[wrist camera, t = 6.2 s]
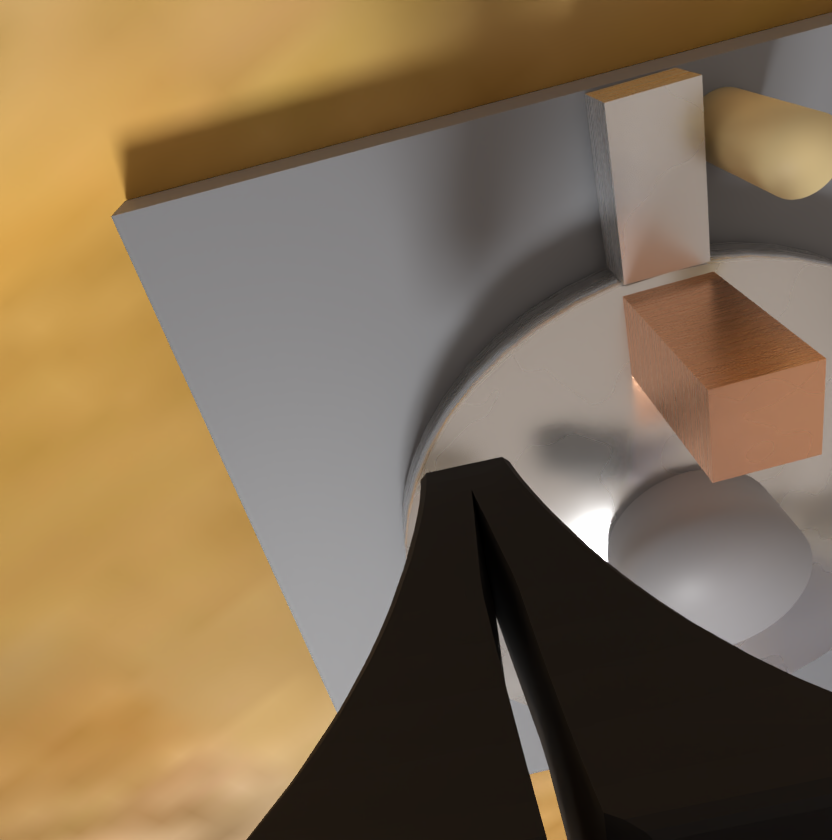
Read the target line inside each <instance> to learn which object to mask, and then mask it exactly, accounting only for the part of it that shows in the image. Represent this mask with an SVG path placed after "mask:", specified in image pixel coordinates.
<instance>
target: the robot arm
mask: <svg viewBox="0 0 832 840" xmlns="http://www.w3.org/2000/svg"><path fill="white" fill-rule="evenodd" d="M420 483H421V490H420V501H419V508H418V514H417V518H416V523H415V528H414V532H413V536H412V540H411V544H410V547H409V551H408V555H407V559H406V562H405V565H404V569H403V572H402V575H401V577H400V580H399V583H398V586H397V589H396V592H395V594H394V597H393V600H392V603H391V606H390V608H389V611H388V613H387V616H386V618H385V621H384V623H383V625H382V628H381V630H380V632H379V635H378V637H377V639H376V641H375V643H374V645H373V647H372V650H371V652H370V654H369V656H368V658H367V660H366V662H365V664H364V666H363V668H362V670H361V671H360V673H359V675H358V677H357V679H356V681H355V683H354V685H353V686H352V688H351V690H350V692H349V694H348V696H347V697H346V699H345V701H344V703H343V704H342V706H341V708H340V710H339V711H338V713H337V715H336V716H335V718H334V719H333V721H332V723H331V724H330V726H329V727H328V729H327V730H326V732H325V733H324V735H323V736H322V738H321V739H320V741H319V742H318V744H317V745H316V747H315V748H314V750H313V751H312V753H311V754H310V756H309V757H308V759H307V760H306V762H305V763H304V765H303V766H302V768H301V769H300V771H299V772H298V774H297V775H296V776H295V778H294V779H293V781H292V782H291V783H290V785H289V786H288V787H287V789H286V790H285V791H284V793H283V794H282V795H281V796H280V798H279V799H278V800H277V801H276V803H275V804H274V805H273V807H272V808H271V809H270V810H269V812H268V813H267V814H266V816H265V817H264V818H263V819H262V821H261V822H260V823H259V824H258V826H257V827H256V828H255V830H254V831H253V832H252V833H251V835H250V836H249V837H248V838H247V840H547V838H546V834H545V830H544V827H543V823H542V819H541V816H540V812H539V808H538V805H537V801H536V797H535V794H534V790H533V786H532V782H531V779H530V775H529V771H528V768H527V764H526V760H525V756H524V753H523V749H522V745H521V741H520V738H519V734H518V730H517V726H516V722H515V719H514V715H513V711H512V707H511V703H510V699H509V696H508V692H507V688H506V684H505V677H504V669H503V662H502V655H501V648H500V641H499V633H498V626H497V621H498V624H499V627H500V629H501V632H502V635H503V638H504V641H505V643H506V646H507V649H508V652H509V655H510V658H511V660H512V663H513V666H514V669H515V671H516V674H517V677H518V680H519V683H520V685H521V688H522V691H523V694H524V697H525V699H526V702H527V705H528V708H529V711H530V713H531V716H532V719H533V722H534V725H535V727H536V730H537V733H538V736H539V738H540V741H541V745H542V748H543V751H544V754H545V757H546V761H547V764H548V767H549V770H550V774H551V778H552V782H553V786H554V790H555V794H556V797H557V801H558V805H559V809H560V813H561V817H562V821H563V824H564V828H565V832H566V836H567V840H832V692H831V691H829V690H826V689H824V688H821V687H819V686H817V685H814V684H812V683H809V682H807V681H804V680H802V679H800V678H798V677H795V676H793V675H791V674H789V673H787V672H785V671H783V670H781V669H779V668H777V667H775V666H773V665H770V664H768V663H766V662H764V661H762V660H760V659H758V658H756V657H754V656H752V655H750V654H748V653H746V652H745V651H743V650H741V649H739V648H738V647H736V646H734V645H732V644H730V643H729V642H727V641H725V640H723V639H721V638H720V637H718V636H716V635H714V634H713V633H711V632H709V631H707V630H705V629H704V628H702V627H700V626H698V625H697V624H695V623H693V622H692V621H690V620H688V619H687V618H685V617H684V616H682V615H681V614H679V613H678V612H676V611H674V610H673V609H671V608H670V607H668V606H667V605H665V604H664V603H662V602H661V601H659V600H658V599H656V598H655V597H653V596H652V595H651V594H649V593H648V592H646V591H645V590H644V589H642V588H641V587H639V586H638V585H636V584H635V583H634V582H632V581H631V580H630V579H628V578H627V577H626V576H625V575H623V574H622V573H621V572H619V571H618V570H617V569H616V568H614V567H613V566H612V565H611V564H609V563H608V562H607V561H606V560H605V559H603V558H602V557H601V556H600V555H599V554H597V553H596V552H595V551H594V550H593V549H591V548H590V547H589V546H588V545H587V544H586V543H585V542H584V541H583V540H581V539H580V538H579V537H578V536H577V535H576V534H575V533H574V532H573V531H572V530H571V529H570V528H569V527H568V526H567V525H565V524H564V523H563V522H562V521H561V520H560V519H559V518H558V517H557V516H556V515H555V514H554V513H553V512H552V511H551V510H550V509H549V508H548V507H547V506H546V505H545V504H544V503H543V502H542V500H541V499H540V498H539V497H538V496H537V495H536V494H535V493H534V492H533V491H532V489H531V488H530V487H529V486H528V485H527V484H526V482H525V481H524V480H523V479H522V478H521V476H520V475H519V474H518V472H517V471H516V470H515V468H514V467H513V466H512V464H511V463H510V461H508V460H507V459H505V458H503V457H498V458H494V459H489V460H484V461H480V462H475V463H470V464H466V465H461V466H456V467H452V468H447V469H442V470H438V471H433V472H428V473H426V474H425V475H424V476H423V478H422V479H421V480H420ZM496 618H497V619H496Z"/></svg>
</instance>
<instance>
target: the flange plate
mask: <svg viewBox="0 0 832 840" xmlns="http://www.w3.org/2000/svg"><path fill="white" fill-rule="evenodd" d="M585 100H586V108H587V116H588V124H589V132H590V140H591V148H592V157H593V165H594V173H595V181H596V189H597V197H598V205H599V214H600V222H601V230H602V238H603V246H604V254H605V263H606V266H607V267H608V268H605V269H603V270H600V271H598V272H596V273H594V274H592V275H590V276H588V277H586V278H584V279H582V280H580V281H577V282H575V283H573V284H571V285H569V286H567V287H565V288H563V289H562V290H560V291H558V292H557V293H555V294H554V295H552V296H550V297H549V298H547V299H546V300H544V301H542V302H541V303H539V304H538V305H536V306H534V307H533V308H531V309H530V310H528V311H527V312H525V313H524V314H523V315H522V316H520V317H519V318H518V319H517V320H515V321H514V322H513V323H512V324H510V325H509V326H508V327H507V328H505V329H504V330H503V331H502V332H500V333H499V334H498V335H497V336H495V337H494V338H493V339H492V340H491V341H490V342H489V343H488V344H487V345H486V346H485V347H484V348H483V350H482V351H481V352H480V353H479V354H478V355H477V356H476V357H475V358H474V359H473V360H472V361H471V362H470V363H469V364H468V365H467V366H466V367H465V368H464V370H463V371H462V372H461V374H460V375H459V376H458V377H457V379H456V380H455V381H454V383H453V384H452V385H451V386H450V388H449V389H448V390H447V392H446V393H445V394H444V396H443V397H442V399H441V401H440V402H439V404H438V406H437V407H436V409H435V411H434V413H433V414H432V416H431V418H430V419H429V421H428V423H427V425H426V426H425V428H424V431H423V433H422V436H421V438H420V441H419V443H418V445H417V448H416V450H415V453H414V455H413V458H412V461H411V465H410V469H409V473H408V477H407V481H406V486H405V490H404V502H403V514H402V524H403V536H404V548H405V555H406V559H407V555H408V551H409V547H410V544H411V540H412V536H413V532H414V528H415V523H416V518H417V514H418V508H419V501H420V490H421V483H420V480H421V479H422V478H423V476H424V475H425V474H426V473H428V472H433V471H438V470H442V469H447V468H452V467H456V466H461V465H466V464H470V463H475V462H480V461H484V460H489V459H494V458H498V457H503V458H505V459H507V460H508V461H510V463H511V464H512V466H513V467H514V468H515V470H516V471H517V472H518V474H519V475H520V476H521V478H522V479H523V480H524V481H525V482H526V484H527V485H528V486H529V487H530V488H531V489H532V491H533V492H534V493H535V494H536V495H537V496H538V497H539V498H540V499H541V500H542V502H543V503H544V504H545V505H546V506H547V507H548V508H549V509H550V510H551V511H552V512H553V513H554V514H555V515H556V516H557V517H558V518H559V519H560V520H561V521H562V522H563V523H564V524H565V525H567V526H568V527H569V528H570V529H571V530H572V531H573V532H574V533H575V534H576V535H577V536H578V537H579V538H580V539H581V540H583V541H584V542H585V543H586V544H587V545H588V546H589V547H590V548H591V549H593V550H594V551H595V552H596V553H597V554H599V555H600V556H601V557H602V558H603V559H605V560H606V561H607V562H608V560H607V549H608V542H609V538H610V535H611V532H612V530H613V528H614V526H615V524H616V522H617V521H618V519H619V517H620V516H621V515H622V513H623V512H624V511H625V510H626V508H627V507H628V506H629V505H630V504H631V503H632V502H633V501H634V500H635V499H636V498H638V497H639V496H640V495H641V494H643V493H644V492H645V491H647V490H648V489H650V488H651V487H653V486H654V485H656V484H658V483H660V482H662V481H664V480H666V479H669V478H671V477H673V476H676V475H679V474H682V473H686V472H690V471H695V470H700V469H703V471H704V472H705V473H706V475H707V476H708V477H709V479H710V480H711V481H712V483H715V482H718V481H722V480H726V479H730V478H734V477H737V476H741V475H748V476H750V477H752V478H753V479H755V480H756V481H758V482H759V483H760V484H761V485H762V486H763V487H764V488H765V489H766V490H767V491H768V492H769V494H770V495H771V496H772V497H773V498H774V499H775V501H776V502H777V503H778V504H779V505H780V507H781V508H782V509H783V510H784V511H785V512H786V514H787V515H788V516H789V517H790V518H791V520H792V521H793V522H794V523H795V524H796V525H797V527H798V528H799V529H800V530H801V531H802V533H803V534H804V535H805V537H806V538H807V540H808V542H809V545H810V547H811V552H812V570H811V575H810V578H809V581H808V583H807V585H806V587H805V589H804V591H803V593H802V594H801V596H800V597H799V599H798V600H797V602H796V603H795V604H794V605H793V606H792V608H791V609H790V610H789V611H788V612H787V613H786V614H785V615H784V616H782V617H781V618H780V619H779V620H778V621H776V622H775V623H774V624H772V625H771V626H769V627H768V628H767V629H765V630H763V631H762V632H760V633H758V634H756V635H755V636H752V637H750V638H748V639H746V640H744V641H741V642H738V643H736V644H733V645H734V646H736V647H738V648H739V649H741V650H743V651H745V652H746V653H748V654H750V655H752V656H754V657H756V658H758V659H760V660H762V661H764V662H766V663H768V664H770V665H773V666H775V667H777V668H779V669H781V670H783V671H785V672H787V673H789V674H791V673H793V672H794V671H796V670H798V669H800V668H801V667H803V666H805V665H807V664H809V663H810V662H812V661H814V660H816V659H817V658H819V657H820V656H822V655H823V654H825V653H826V652H828V651H829V650H831V649H832V260H830V259H828V258H825V257H822V256H820V255H817V254H814V253H811V252H809V251H804V250H799V249H794V248H789V247H784V246H779V245H774V244H764V243H744V242H722V243H709V220H708V197H707V174H706V152H705V129H704V106H703V84H702V75H701V74H697V73H693V72H690V71H686V70H682V69H679V68H673V69H669V70H666V71H662V72H659V73H655V74H652V75H648V76H645V77H642V78H638V79H635V80H631V81H628V82H624V83H621V84H617V85H614V86H610V87H607V88H603V89H600V90H596V91H593V92H589V93H586V94H585ZM496 619H497V618H496ZM497 626H498V633H499V641H500V648H501V655H502V662H503V669H504V677H505V684H506V688H507V692H508V696H509V699H512V700H514V701H517V702H520V703H522V704H525V705H527V702H526V699H525V697H524V694H523V691H522V688H521V685H520V683H519V680H518V677H517V674H516V671H515V669H514V666H513V663H512V660H511V658H510V655H509V652H508V649H507V646H506V643H505V641H504V638H503V635H502V632H501V629H500V627H499V624H498V621H497ZM527 706H528V705H527Z"/></svg>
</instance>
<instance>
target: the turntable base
mask: <svg viewBox="0 0 832 840" xmlns="http://www.w3.org/2000/svg"><path fill="white" fill-rule="evenodd" d="M673 68H679V69H682V70H686V71H690V72H693V73H697V74H701V75H702V84H703V106H704V129H705V152H706V174H707V197H708V220H709V243H722V242H744V243H764V244H774V245H779V246H784V247H789V248H794V249H799V250H804V251H809V252H811V253H814V254H817V255H820V256H822V257H825V258H828V259H830V260H832V12H830V13H827V14H823V15H819V16H815V17H812V18H808V19H804V20H800V21H797V22H793V23H789V24H785V25H782V26H778V27H774V28H770V29H767V30H763V31H759V32H756V33H752V34H748V35H744V36H741V37H737V38H733V39H729V40H726V41H722V42H718V43H714V44H711V45H707V46H703V47H699V48H696V49H692V50H688V51H684V52H681V53H677V54H673V55H669V56H666V57H662V58H658V59H655V60H651V61H647V62H643V63H640V64H636V65H632V66H628V67H625V68H621V69H617V70H613V71H610V72H606V73H602V74H598V75H595V76H591V77H587V78H583V79H580V80H576V81H572V82H568V83H565V84H561V85H557V86H554V87H550V88H546V89H542V90H539V91H535V92H531V93H527V94H524V95H520V96H516V97H512V98H509V99H505V100H501V101H497V102H494V103H490V104H486V105H482V106H479V107H475V108H471V109H467V110H464V111H460V112H456V113H453V114H449V115H445V116H441V117H438V118H434V119H430V120H426V121H423V122H419V123H415V124H411V125H408V126H404V127H400V128H396V129H393V130H389V131H385V132H381V133H378V134H374V135H370V136H366V137H363V138H359V139H355V140H352V141H348V142H344V143H340V144H337V145H333V146H329V147H325V148H322V149H318V150H314V151H310V152H307V153H303V154H299V155H295V156H292V157H288V158H284V159H280V160H277V161H273V162H269V163H265V164H262V165H258V166H254V167H250V168H247V169H243V170H239V171H236V172H232V173H228V174H224V175H221V176H217V177H213V178H209V179H206V180H202V181H198V182H194V183H191V184H187V185H183V186H179V187H176V188H172V189H168V190H164V191H161V192H157V193H153V194H149V195H146V196H142V197H138V198H135V199H131V200H127V201H125V202H124V203H123V204H122V205H121V206H120V207H119V208H118V210H117V211H116V212H115V213H114V214H113V215H112V216H111V217H112V219H113V221H114V224H115V226H116V228H117V230H118V232H119V235H120V237H121V239H122V241H123V243H124V246H125V248H126V250H127V252H128V254H129V256H130V259H131V261H132V263H133V265H134V267H135V270H136V272H137V274H138V276H139V278H140V281H141V283H142V285H143V287H144V289H145V292H146V294H147V296H148V298H149V300H150V303H151V305H152V307H153V309H154V311H155V314H156V316H157V318H158V320H159V322H160V325H161V327H162V329H163V331H164V333H165V336H166V338H167V340H168V342H169V344H170V347H171V349H172V351H173V353H174V355H175V358H176V360H177V362H178V364H179V366H180V369H181V371H182V373H183V375H184V377H185V380H186V382H187V384H188V386H189V388H190V391H191V393H192V395H193V397H194V399H195V402H196V404H197V406H198V408H199V410H200V412H201V415H202V417H203V419H204V421H205V423H206V426H207V428H208V430H209V432H210V434H211V437H212V439H213V441H214V443H215V445H216V448H217V450H218V452H219V454H220V456H221V459H222V461H223V463H224V465H225V467H226V470H227V472H228V474H229V476H230V478H231V481H232V483H233V485H234V487H235V489H236V492H237V494H238V496H239V498H240V500H241V503H242V505H243V507H244V509H245V511H246V514H247V516H248V518H249V520H250V522H251V525H252V527H253V529H254V531H255V533H256V536H257V538H258V540H259V542H260V544H261V547H262V549H263V551H264V553H265V555H266V557H267V560H268V562H269V564H270V566H271V568H272V571H273V573H274V575H275V577H276V579H277V582H278V584H279V586H280V588H281V590H282V593H283V595H284V597H285V599H286V601H287V604H288V606H289V608H290V610H291V612H292V615H293V617H294V619H295V621H296V623H297V626H298V628H299V630H300V632H301V634H302V637H303V639H304V641H305V643H306V645H307V648H308V650H309V652H310V654H311V656H312V659H313V661H314V663H315V665H316V667H317V670H318V672H319V674H320V676H321V678H322V681H323V683H324V685H325V687H326V689H327V692H328V694H329V696H330V698H331V700H332V703H333V705H334V707H335V709H336V711H337V713H338V711H339V710H340V708H341V706H342V704H343V703H344V701H345V699H346V697H347V696H348V694H349V692H350V690H351V688H352V686H353V685H354V683H355V681H356V679H357V677H358V675H359V673H360V671H361V670H362V668H363V666H364V664H365V662H366V660H367V658H368V656H369V654H370V652H371V650H372V647H373V645H374V643H375V641H376V639H377V637H378V635H379V632H380V630H381V628H382V625H383V623H384V621H385V618H386V616H387V613H388V611H389V608H390V606H391V603H392V600H393V597H394V594H395V592H396V589H397V586H398V583H399V580H400V577H401V575H402V572H403V569H404V565H405V562H406V555H405V548H404V536H403V524H402V514H403V502H404V490H405V486H406V481H407V477H408V473H409V469H410V465H411V461H412V458H413V455H414V453H415V450H416V448H417V445H418V443H419V441H420V438H421V436H422V433H423V431H424V428H425V426H426V425H427V423H428V421H429V419H430V418H431V416H432V414H433V413H434V411H435V409H436V407H437V406H438V404H439V402H440V401H441V399H442V397H443V396H444V394H445V393H446V392H447V390H448V389H449V388H450V386H451V385H452V384H453V383H454V381H455V380H456V379H457V377H458V376H459V375H460V374H461V372H462V371H463V370H464V368H465V367H466V366H467V365H468V364H469V363H470V362H471V361H472V360H473V359H474V358H475V357H476V356H477V355H478V354H479V353H480V352H481V351H482V350H483V348H484V347H485V346H486V345H487V344H488V343H489V342H490V341H491V340H492V339H493V338H494V337H495V336H497V335H498V334H499V333H500V332H502V331H503V330H504V329H505V328H507V327H508V326H509V325H510V324H512V323H513V322H514V321H515V320H517V319H518V318H519V317H520V316H522V315H523V314H524V313H525V312H527V311H528V310H530V309H531V308H533V307H534V306H536V305H538V304H539V303H541V302H542V301H544V300H546V299H547V298H549V297H550V296H552V295H554V294H555V293H557V292H558V291H560V290H562V289H563V288H565V287H567V286H569V285H571V284H573V283H575V282H577V281H580V280H582V279H584V278H586V277H588V276H590V275H592V274H594V273H596V272H598V271H600V270H603V269H605V268H608V267H607V266H606V263H605V254H604V246H603V238H602V230H601V222H600V214H599V205H598V197H597V189H596V181H595V173H594V165H593V157H592V148H591V140H590V132H589V124H588V116H587V108H586V100H585V94H586V93H589V92H593V91H596V90H600V89H603V88H607V87H610V86H614V85H617V84H621V83H624V82H628V81H631V80H635V79H638V78H642V77H645V76H648V75H652V74H655V73H659V72H662V71H666V70H669V69H673ZM607 560H608V563H609V564H611V565H612V566H613V567H614V568H616V569H617V570H618V571H619V572H621V573H622V574H623V575H625V576H626V577H627V578H628V579H630V580H631V581H632V582H634V583H635V584H636V585H638V586H639V587H641V588H642V589H644V590H645V591H646V592H648V593H649V594H651V595H652V596H653V597H655V598H656V599H658V600H659V601H661V602H662V603H664V604H665V605H667V606H668V607H670V608H671V609H673V610H674V611H676V612H678V613H679V614H681V615H682V616H684V617H685V618H687V619H688V620H690V621H692V622H693V623H695V624H697V625H698V626H700V627H702V628H704V629H705V630H707V631H709V632H711V633H713V634H714V635H716V636H718V637H720V638H721V639H723V640H725V641H727V642H729V643H730V644H732V645H733V644H736V643H738V642H741V641H744V640H746V639H748V638H750V637H752V636H755V635H756V634H758V633H760V632H762V631H763V630H765V629H767V628H768V627H769V626H771V625H772V624H774V623H775V622H776V621H778V620H779V619H780V618H781V617H782V616H784V615H785V614H786V613H787V612H788V611H789V610H790V609H791V608H792V606H793V605H794V604H795V603H796V602H797V600H798V599H799V597H800V596H801V594H802V593H803V591H804V589H805V587H806V585H807V583H808V581H809V578H810V575H811V570H812V552H811V547H810V545H809V542H808V540H807V538H806V537H805V535H804V534H803V533H802V531H801V530H800V529H799V528H798V527H797V525H796V524H795V523H794V522H793V521H792V520H791V518H790V517H789V516H788V515H787V514H786V512H785V511H784V510H783V509H782V508H781V507H780V505H779V504H778V503H777V502H776V501H775V499H774V498H773V497H772V496H771V495H770V494H769V492H768V491H767V490H766V489H765V488H764V487H763V486H762V485H761V484H760V483H759V482H758V481H756V480H755V479H753V478H752V477H750V476H748V475H741V476H737V477H734V478H730V479H726V480H722V481H718V482H715V483H712V481H711V480H710V479H709V477H708V476H707V475H706V473H705V472H704V471H703V469H700V470H695V471H690V472H686V473H682V474H679V475H676V476H673V477H671V478H669V479H666V480H664V481H662V482H660V483H658V484H656V485H654V486H653V487H651V488H650V489H648V490H647V491H645V492H644V493H643V494H641V495H640V496H639V497H638V498H636V499H635V500H634V501H633V502H632V503H631V504H630V505H629V506H628V507H627V508H626V510H625V511H624V512H623V513H622V515H621V516H620V517H619V519H618V521H617V522H616V524H615V526H614V528H613V530H612V532H611V535H610V538H609V542H608V549H607ZM791 675H793V676H795V677H798V678H800V679H802V680H804V681H807V682H809V683H812V684H814V685H817V686H819V687H821V688H824V689H826V690H829V691H831V692H832V649H831V650H829V651H828V652H826V653H825V654H823V655H822V656H820V657H819V658H817V659H816V660H814V661H812V662H810V663H809V664H807V665H805V666H803V667H801V668H800V669H798V670H796V671H794V672H793V673H791ZM510 703H511V707H512V711H513V715H514V719H515V722H516V726H517V730H518V734H519V738H520V741H521V745H522V749H523V753H524V756H525V760H526V764H527V768H528V771H529V774H533V773H537V772H541V771H545V770H549V767H548V764H547V761H546V757H545V754H544V751H543V748H542V745H541V741H540V738H539V736H538V733H537V730H536V727H535V725H534V722H533V719H532V716H531V713H530V711H529V708H528V706H527V705H525V704H522V703H520V702H517V701H514V700H512V699H510Z"/></svg>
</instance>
